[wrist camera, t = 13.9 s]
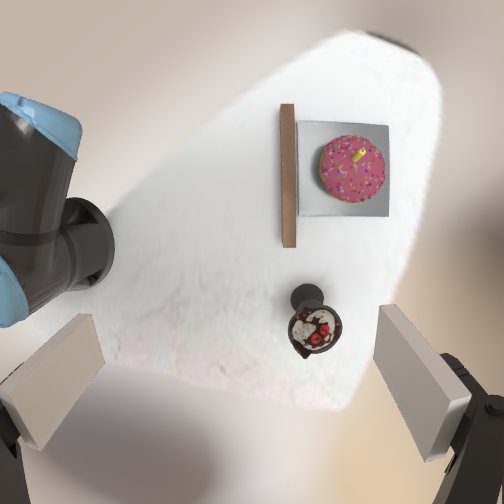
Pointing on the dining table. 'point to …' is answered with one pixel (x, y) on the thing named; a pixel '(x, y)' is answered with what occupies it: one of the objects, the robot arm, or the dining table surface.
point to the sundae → (312, 322)
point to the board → (309, 182)
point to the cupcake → (352, 168)
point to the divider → (288, 175)
